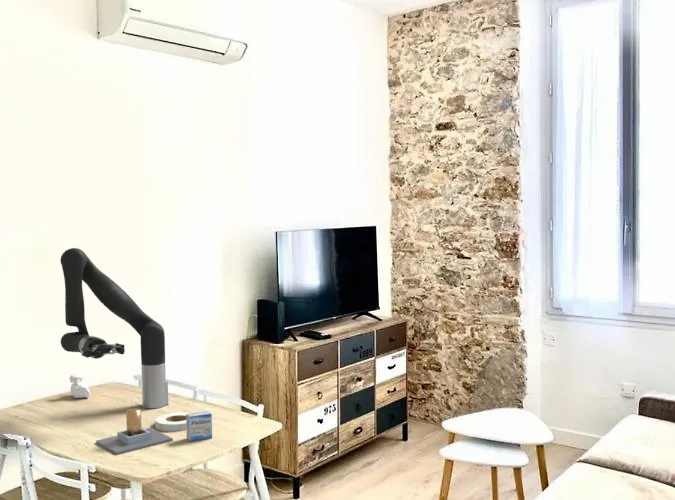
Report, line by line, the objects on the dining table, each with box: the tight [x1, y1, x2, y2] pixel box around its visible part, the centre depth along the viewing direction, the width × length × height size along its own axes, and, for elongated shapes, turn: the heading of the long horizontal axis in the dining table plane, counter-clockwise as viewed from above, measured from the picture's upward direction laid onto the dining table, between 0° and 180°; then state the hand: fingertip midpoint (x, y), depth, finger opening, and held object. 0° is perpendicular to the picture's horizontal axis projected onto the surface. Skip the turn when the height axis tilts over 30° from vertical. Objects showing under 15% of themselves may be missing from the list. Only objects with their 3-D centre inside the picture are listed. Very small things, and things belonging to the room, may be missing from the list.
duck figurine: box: [69, 373, 91, 399], centre depth 294 cm, size 12×8×11 cm
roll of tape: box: [154, 412, 192, 432], centre depth 255 cm, size 16×15×3 cm
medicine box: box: [186, 410, 213, 443], centre depth 240 cm, size 8×4×9 cm, turn 118°
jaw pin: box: [125, 408, 143, 437], centre depth 237 cm, size 5×5×10 cm
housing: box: [95, 427, 174, 456], centre depth 237 cm, size 20×16×3 cm
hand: (111, 353), depth 247 cm, fingers open, 8 cm apart
